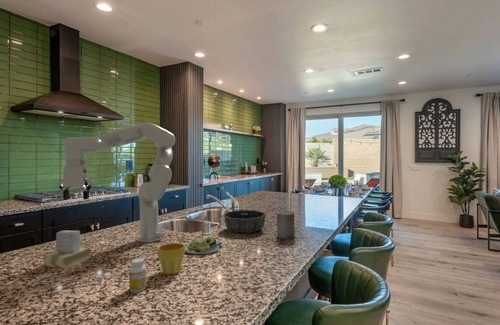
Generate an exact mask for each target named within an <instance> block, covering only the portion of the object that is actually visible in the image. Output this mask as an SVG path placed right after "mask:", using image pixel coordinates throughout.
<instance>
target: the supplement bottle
mask: <svg viewBox="0 0 500 325" xmlns="http://www.w3.org/2000/svg"><path fill="white" fill-rule="evenodd" d="M130 265H131V266H130V267H129V269H128V271H129V272H128V274H129V275H128V276H129V279H128V280H129V286H128V288H129V290H130V292H133V293H134V292H135V293H136V292H141V291H144V290H145V289H146V288H147V267H146V265H145V259H144V258H141V257H140V258H138V257H137V258H134V259H132V260H131V264H130Z"/></svg>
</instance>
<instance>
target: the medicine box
mask: <svg viewBox="0 0 500 325" xmlns="http://www.w3.org/2000/svg"><path fill="white" fill-rule="evenodd" d="M55 237H56V238H55V240H56V241H55V242H56V243H55V245H56V250H55V251H57V253H74V252H77V251H79V250H80V247H81V231H80V230H67V229H66V230H60V231H58V232H56V233H55Z"/></svg>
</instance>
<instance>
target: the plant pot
mask: <svg viewBox="0 0 500 325" xmlns="http://www.w3.org/2000/svg"><path fill="white" fill-rule="evenodd" d="M185 248H186V245H185V244H184V243H180V242H179V243H177V242H173V243H172V242H171V243H165V244H162V245H159V246H158V247H157V257H158V259H159V262H160V266H161V269H162V273H163V274H164V275H176V274H179V272H180V271H182V270H181V269H182V265H183V260H184V259H183V258H184V256H185V253H186V252H185Z"/></svg>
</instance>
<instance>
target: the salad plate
mask: <svg viewBox="0 0 500 325" xmlns="http://www.w3.org/2000/svg"><path fill="white" fill-rule="evenodd" d="M216 240H217V239H216V237H214V236H208V237H206V238H204V240H202V241H196V240H195V241H194V240H193V241H192V242H191V241H190V242H189V243H187V244H186V245H185V253H187V254H189V255H192V256H193V255H194V256H196V255H202V256H203V255H209V254H214V253H216V252H218V250H219V249H220V246H221V245H222V244H223V242H219V241H216ZM191 250H193V251H191ZM194 250H195V252H194Z"/></svg>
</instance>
